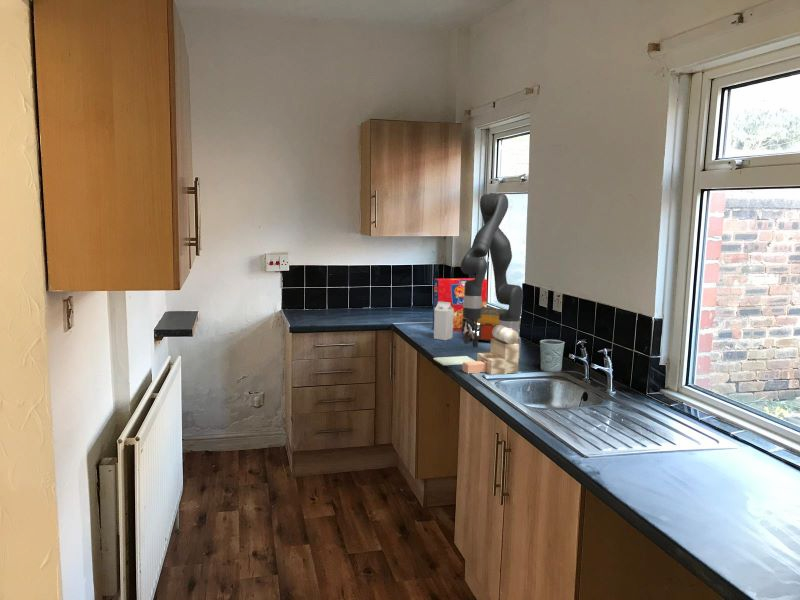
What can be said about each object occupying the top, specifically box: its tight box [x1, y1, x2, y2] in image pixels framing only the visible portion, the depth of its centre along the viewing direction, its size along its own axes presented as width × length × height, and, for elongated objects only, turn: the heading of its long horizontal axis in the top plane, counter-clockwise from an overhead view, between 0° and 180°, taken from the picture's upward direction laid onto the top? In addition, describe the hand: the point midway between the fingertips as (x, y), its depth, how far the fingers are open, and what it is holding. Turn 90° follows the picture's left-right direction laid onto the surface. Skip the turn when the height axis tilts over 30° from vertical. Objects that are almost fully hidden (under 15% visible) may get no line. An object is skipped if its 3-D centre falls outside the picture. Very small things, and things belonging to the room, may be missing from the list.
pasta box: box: [432, 277, 488, 332], centre depth 369 cm, size 28×8×28 cm, turn 105°
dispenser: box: [476, 325, 519, 376], centre depth 280 cm, size 12×14×18 cm
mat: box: [433, 355, 476, 366], centre depth 296 cm, size 16×12×1 cm
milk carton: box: [433, 301, 454, 341], centre depth 344 cm, size 7×7×19 cm
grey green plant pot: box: [539, 339, 565, 373], centre depth 284 cm, size 10×10×12 cm
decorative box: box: [469, 306, 508, 343], centre depth 343 cm, size 20×22×16 cm
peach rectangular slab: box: [462, 360, 487, 375], centre depth 279 cm, size 13×5×4 cm, turn 111°
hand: (470, 345), depth 276 cm, fingers open, 8 cm apart
